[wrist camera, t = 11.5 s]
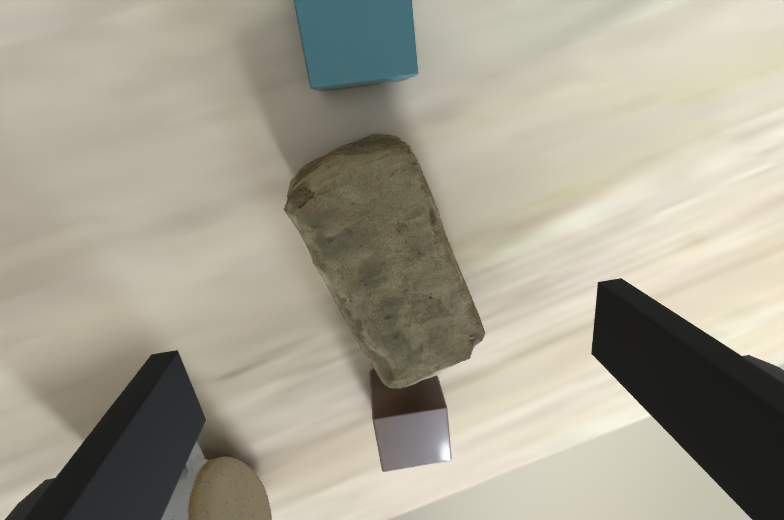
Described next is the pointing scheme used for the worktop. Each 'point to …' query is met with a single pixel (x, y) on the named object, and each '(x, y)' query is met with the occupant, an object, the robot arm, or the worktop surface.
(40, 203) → the worktop surface
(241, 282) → the worktop surface
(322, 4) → the teal block
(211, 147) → the worktop surface
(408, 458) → the walnut block
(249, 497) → the ceramic mug
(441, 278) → the stone block
